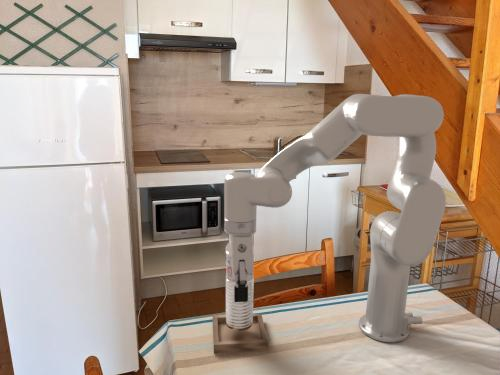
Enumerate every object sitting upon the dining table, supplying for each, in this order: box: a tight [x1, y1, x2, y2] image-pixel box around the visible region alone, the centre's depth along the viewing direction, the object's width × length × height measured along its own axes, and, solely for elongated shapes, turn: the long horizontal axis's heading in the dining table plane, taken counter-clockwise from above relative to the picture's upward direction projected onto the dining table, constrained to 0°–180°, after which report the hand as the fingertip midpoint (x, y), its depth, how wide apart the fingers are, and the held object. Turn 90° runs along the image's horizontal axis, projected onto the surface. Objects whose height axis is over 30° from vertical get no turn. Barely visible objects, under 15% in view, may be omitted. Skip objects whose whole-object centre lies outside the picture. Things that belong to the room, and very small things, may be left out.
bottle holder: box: [212, 312, 270, 354], centre depth 108 cm, size 13×13×2 cm
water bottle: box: [225, 242, 255, 331], centre depth 105 cm, size 7×7×25 cm
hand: (239, 293), depth 106 cm, fingers closed on water bottle, 6 cm apart
